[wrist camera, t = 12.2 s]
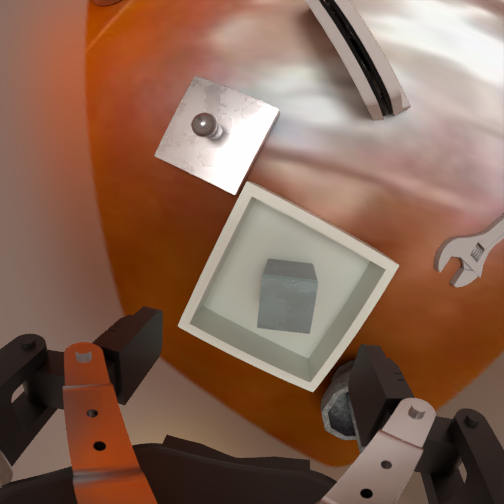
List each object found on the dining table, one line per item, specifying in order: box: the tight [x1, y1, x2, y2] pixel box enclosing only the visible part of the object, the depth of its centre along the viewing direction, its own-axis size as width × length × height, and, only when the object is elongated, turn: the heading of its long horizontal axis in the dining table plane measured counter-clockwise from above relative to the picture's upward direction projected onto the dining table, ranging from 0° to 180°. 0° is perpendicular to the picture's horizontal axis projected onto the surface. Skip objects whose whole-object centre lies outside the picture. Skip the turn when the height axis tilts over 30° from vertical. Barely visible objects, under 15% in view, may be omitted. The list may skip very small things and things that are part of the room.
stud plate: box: [155, 76, 280, 195], centre depth 29 cm, size 10×10×7 cm
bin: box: [178, 181, 399, 392], centre depth 31 cm, size 16×16×6 cm
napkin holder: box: [305, 0, 410, 120], centre depth 24 cm, size 17×5×10 cm, turn 23°
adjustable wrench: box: [434, 213, 504, 287], centre depth 29 cm, size 25×6×2 cm, turn 119°
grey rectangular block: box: [257, 259, 318, 334], centre depth 30 cm, size 5×5×7 cm
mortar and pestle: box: [321, 360, 366, 454], centre depth 30 cm, size 11×9×12 cm
